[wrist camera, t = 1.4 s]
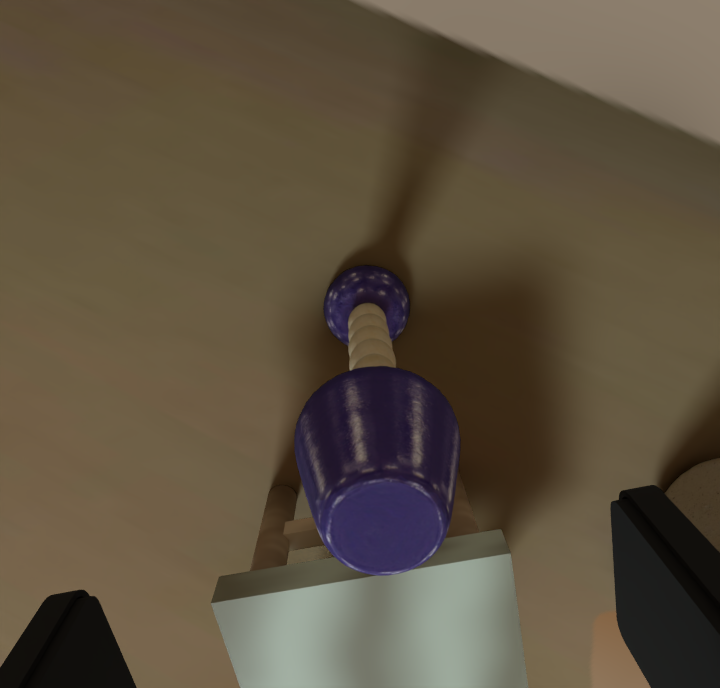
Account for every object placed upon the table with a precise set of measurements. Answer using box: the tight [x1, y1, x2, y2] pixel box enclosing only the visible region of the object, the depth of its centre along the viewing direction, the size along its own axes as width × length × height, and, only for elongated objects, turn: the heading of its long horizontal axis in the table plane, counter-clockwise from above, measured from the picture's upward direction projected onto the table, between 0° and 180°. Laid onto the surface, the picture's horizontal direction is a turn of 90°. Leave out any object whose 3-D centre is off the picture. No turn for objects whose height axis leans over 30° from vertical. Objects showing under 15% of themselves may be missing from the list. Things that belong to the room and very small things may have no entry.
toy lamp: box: [294, 265, 460, 576], centre depth 20 cm, size 5×5×17 cm
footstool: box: [211, 470, 528, 688], centre depth 29 cm, size 12×12×9 cm
